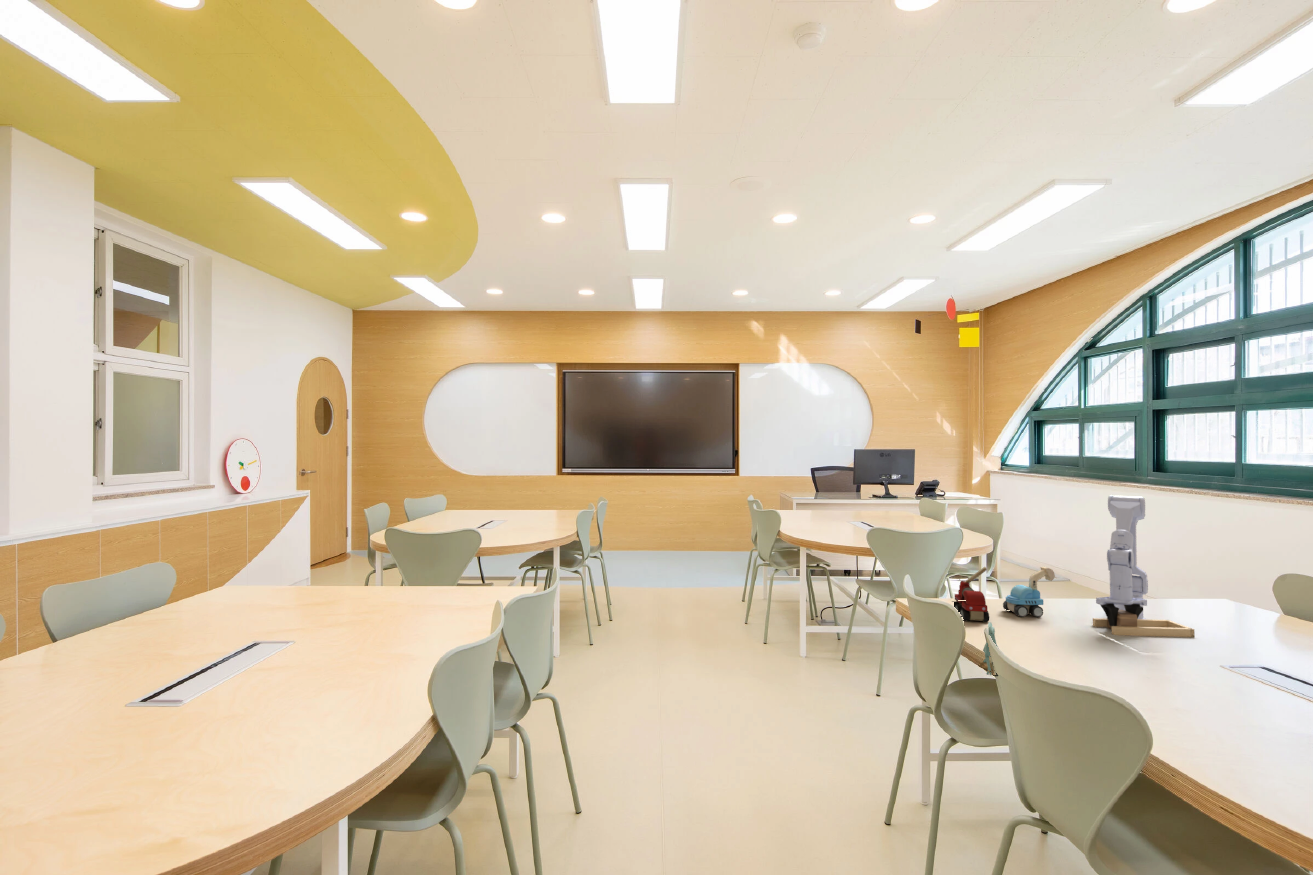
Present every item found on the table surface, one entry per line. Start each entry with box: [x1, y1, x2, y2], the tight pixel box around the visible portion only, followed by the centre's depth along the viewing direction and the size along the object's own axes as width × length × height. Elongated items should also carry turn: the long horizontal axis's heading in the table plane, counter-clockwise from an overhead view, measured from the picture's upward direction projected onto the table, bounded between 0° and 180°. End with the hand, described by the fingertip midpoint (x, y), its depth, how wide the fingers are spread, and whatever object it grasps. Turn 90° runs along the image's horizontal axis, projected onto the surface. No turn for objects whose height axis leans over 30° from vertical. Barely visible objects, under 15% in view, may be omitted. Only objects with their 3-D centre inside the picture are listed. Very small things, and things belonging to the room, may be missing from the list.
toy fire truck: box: [951, 566, 990, 622], centre depth 198 cm, size 11×16×18 cm
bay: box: [1092, 617, 1195, 638], centre depth 180 cm, size 10×24×3 cm, turn 85°
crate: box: [1106, 610, 1137, 630], centre depth 180 cm, size 6×5×6 cm
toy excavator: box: [1002, 566, 1056, 618], centre depth 201 cm, size 9×17×17 cm, turn 89°
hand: (1121, 626), depth 180 cm, fingers closed on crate, 5 cm apart
